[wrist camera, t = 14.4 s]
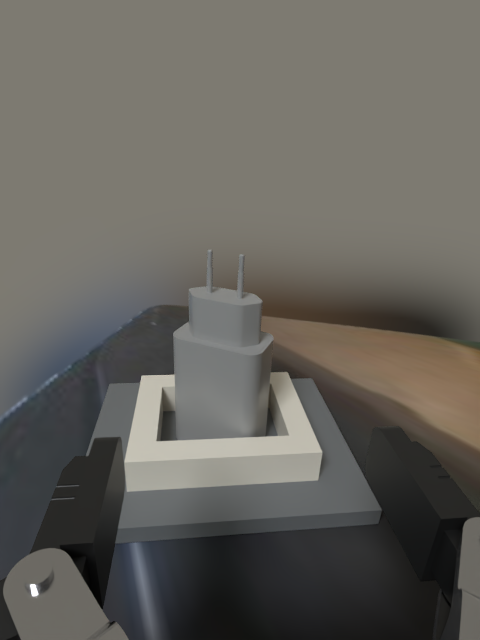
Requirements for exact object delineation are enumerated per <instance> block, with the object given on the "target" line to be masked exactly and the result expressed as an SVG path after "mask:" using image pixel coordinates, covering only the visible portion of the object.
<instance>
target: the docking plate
mask: <svg viewBox="0 0 480 640" xmlns="http://www.w3.org/2000/svg"><path fill="white" fill-rule="evenodd" d="M101 437H121V440H122V449H123V460H124V471H125V492H124V499H123V504H122V510H121V515H120V520H119V526H118V531H117V536H116V541H115V544H117V543H130V542H144V541H157V540H170V539H184V538H197V537H210V536H224V535H237V534H250V533H264V532H277V531H290V530H304V529H317V528H331V527H344V526H357V525H371V524H379V520H380V516H381V512H382V509H381V507H380V506H379V504H378V502H377V500H376V498H375V496H374V494H373V492H372V491H371V489H370V487H369V485H368V483H367V481H366V479H365V477H364V475H363V474H362V472H361V470H360V468H359V466H358V464H357V462H356V460H355V458H354V457H353V455H352V453H351V451H350V449H349V447H348V445H347V443H346V441H345V440H344V438H343V436H342V434H341V432H340V430H339V428H338V426H337V424H336V423H335V421H334V419H333V417H332V415H331V413H330V411H329V409H328V408H327V406H326V404H325V402H324V400H323V398H322V396H321V394H320V392H319V391H318V389H317V387H316V385H315V383H314V381H313V379H312V378H306V379H290V377H289V374H288V372H271V375H270V387H269V399H268V411H267V423H266V435H265V437H245V438H223V439H201V440H178V439H177V438H176V412H175V375H150V376H142V377H141V382H140V383H120V384H109V387H108V390H107V393H106V396H105V400H104V403H103V406H102V409H101V412H100V415H99V418H98V421H97V424H96V427H95V430H94V433H93V436H92V439H91V442H90V445H89V448H88V451H87V454H86V456H89V453H90V450H91V447H92V444H93V441H94V439H95V438H101Z"/></svg>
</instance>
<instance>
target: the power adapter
mask: <svg viewBox="0 0 480 640" xmlns="http://www.w3.org/2000/svg"><path fill="white" fill-rule="evenodd" d="M207 265H208V266H207V287H198V288H190V289H189V322H188V323H186V324H185V325H183V326H182V327H181V328H179V329H178V330H176V331H175V332H174V334H173V337H174V375H175V412H176V438H177V439H178V440H201V439H223V438H245V437H265V435H266V423H267V411H268V399H269V387H270V375H271V362H272V350H273V336H272V335H271V334H269V333H266V332H261V317H262V300H261V299H260V298H259V297H258V296H256V295H254V294H251V293H246V292H243V287H244V255H243V254H241V255H239V272H238V290H237V291H235V290H229V289H224V288H218V287H212V284H213V283H212V281H213V268H212V250H208V263H207Z"/></svg>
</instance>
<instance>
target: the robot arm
mask: <svg viewBox="0 0 480 640" xmlns="http://www.w3.org/2000/svg"><path fill="white" fill-rule="evenodd" d="M365 471H366V477H367V480H368V483H369V485H370V487H371V489H372V491H373V493H374V495H375V496H376V498H377V500H378V502H379V504H380V506H381V508H382V510H383V511H384V513H385V515H386V517H387V519H388V521H389V523H390V525H391V527H392V528H393V530H394V532H395V534H396V536H397V538H398V540H399V542H400V544H401V545H402V547H403V549H404V551H405V553H406V555H407V557H408V559H409V561H410V562H411V564H412V566H413V568H414V570H415V572H416V574H417V576H418V578H419V579H420V581H430V580H436V581H437V582H438V584H439V586H440V588H441V589H440V591H439V595H438V601H437V608H436V616H435V623H434V631H433V638H432V640H480V513H479V512H478V511H477V510H476V508H475V507H474V506H473V505H472V503H471V502H470V501H469V499H468V498H467V497H466V496H465V494H464V493H463V492H462V491H461V489H460V488H459V487H458V486H457V484H456V483H455V482H454V480H453V479H452V478H451V479H450V475H449V474H448V473H447V472H446V470H445V469H444V468H442V467H441V464H440V463H439V461H438V460H437V459H436V458H435V456H434V455H433V454H432V453H431V452H430V451H429V450H427V449H426V448H425V447H423V446H422V445H421V444H419V443H418V442H417V441H416V442H411V440H410V439H409V438H408V436H407V435H406V434H405V432H404V431H403V430H402V429H401V428H400V427H399V426H387V427H375V428H374V429H373V431H372V435H371V440H370V445H369V449H368V454H367V459H366V464H365ZM124 492H125V471H124V460H123V449H122V440H121V437H101V438H95V439H94V441H93V444H92V447H91V450H90V453H89V456H75V457H74V458H73V459H72V461H71V462H70V463H69V464H68V465H67V466H66V467H65V468H64V469H63V471H62V473H61V476H60V478H59V481H58V483H57V488H55V491H54V494H53V496H52V501H50V504H49V506H48V509H47V511H46V514H45V516H44V519H43V522H42V524H41V527H40V529H39V532H38V534H37V537H36V539H35V542H34V545H33V547H32V549H31V552H30V554H29V555H28V556H26V557H25V558H23V559H22V560H21V561H19V562H18V563H17V564H16V565H15V566H14V567H13V569H12V570H11V571H10V573H9V574H8V576H7V577H6V578H4V579H3V580H1V581H0V640H129V639H128V638H127V636H126V634H125V633H124V631H123V630H122V628H121V627H120V626H119V625H118V623H116V622H115V621H113V622H112V623H111V622H110V621H109V620H108V619H107V617H106V616H105V614H104V613H103V611H102V609H103V605H104V600H105V595H106V589H107V584H108V579H109V573H110V568H111V563H112V557H113V552H114V547H115V541H116V536H117V531H118V526H119V520H120V515H121V510H122V504H123V499H124Z"/></svg>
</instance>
